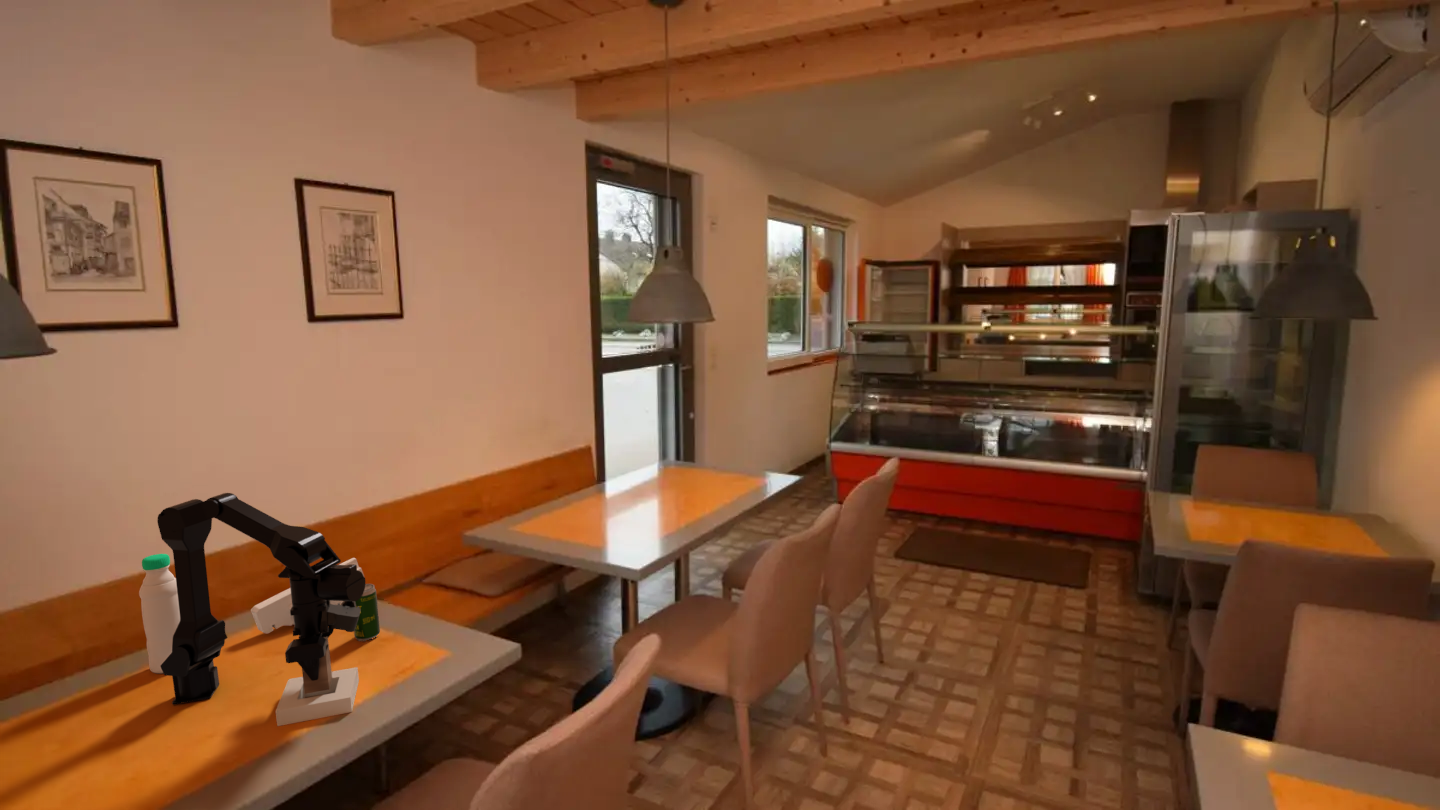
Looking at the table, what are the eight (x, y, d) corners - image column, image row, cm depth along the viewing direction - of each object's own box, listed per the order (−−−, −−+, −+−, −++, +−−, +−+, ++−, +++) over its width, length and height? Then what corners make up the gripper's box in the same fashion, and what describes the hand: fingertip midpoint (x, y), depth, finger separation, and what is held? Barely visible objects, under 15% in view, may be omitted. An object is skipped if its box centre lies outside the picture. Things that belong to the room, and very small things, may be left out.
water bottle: (185, 670, 158) (169, 559, 155) (145, 677, 156) (128, 564, 152) (194, 656, 165) (180, 548, 161) (156, 662, 162) (141, 553, 159)
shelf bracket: (374, 602, 193) (360, 560, 189) (275, 658, 174) (257, 612, 170) (363, 597, 196) (349, 556, 192) (265, 651, 178) (247, 606, 174)
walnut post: (304, 693, 142) (299, 649, 140) (308, 683, 145) (303, 640, 144) (329, 689, 143) (324, 645, 142) (332, 679, 147) (327, 636, 146)
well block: (277, 726, 137) (275, 711, 136) (290, 693, 148) (288, 679, 148) (351, 711, 141) (350, 697, 141) (358, 680, 153) (357, 667, 152)
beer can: (370, 629, 176) (365, 582, 175) (385, 634, 174) (380, 585, 172) (349, 639, 172) (344, 590, 170) (365, 643, 169) (360, 594, 167)
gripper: (349, 610, 136) (357, 689, 138) (360, 575, 153) (367, 646, 155) (280, 620, 132) (289, 701, 134) (299, 583, 149) (307, 655, 151)
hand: (316, 674), depth 144 cm, fingers closed on walnut post, 4 cm apart
